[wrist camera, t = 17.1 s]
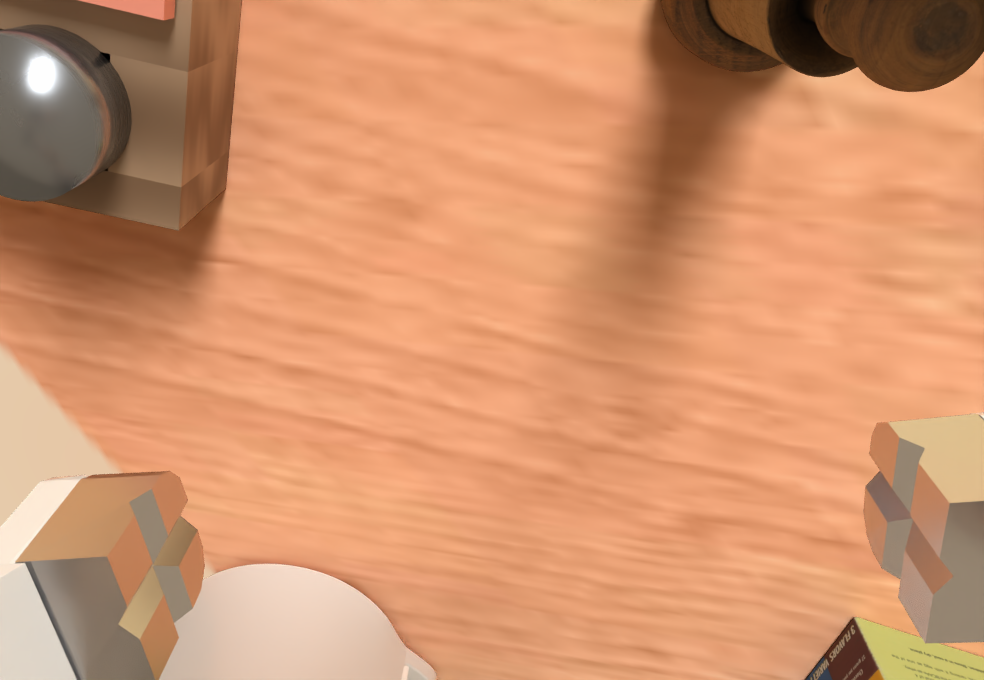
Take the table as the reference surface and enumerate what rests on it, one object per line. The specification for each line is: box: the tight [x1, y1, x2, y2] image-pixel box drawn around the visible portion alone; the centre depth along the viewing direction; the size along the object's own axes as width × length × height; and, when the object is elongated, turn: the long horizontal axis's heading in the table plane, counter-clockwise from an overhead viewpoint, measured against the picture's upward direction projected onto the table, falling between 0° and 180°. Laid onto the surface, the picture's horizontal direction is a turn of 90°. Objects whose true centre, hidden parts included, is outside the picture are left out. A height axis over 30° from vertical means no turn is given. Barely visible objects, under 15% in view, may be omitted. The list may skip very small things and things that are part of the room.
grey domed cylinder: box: [0, 24, 132, 201], centre depth 32 cm, size 6×6×8 cm
